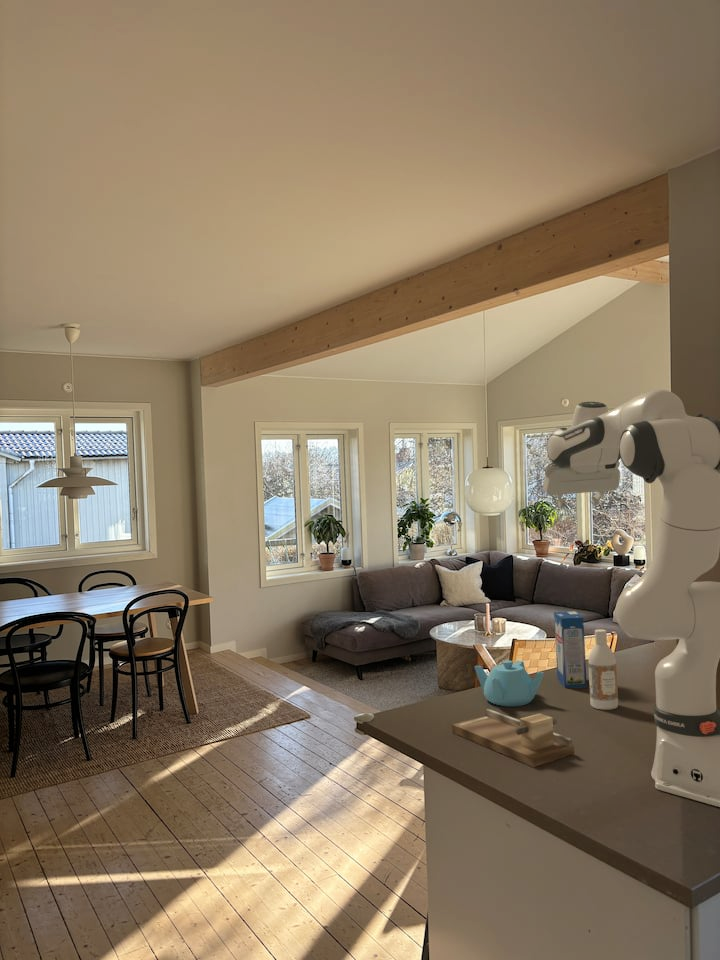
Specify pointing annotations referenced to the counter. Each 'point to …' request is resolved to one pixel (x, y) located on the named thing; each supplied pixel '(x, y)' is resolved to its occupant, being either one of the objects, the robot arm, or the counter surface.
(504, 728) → the walnut board
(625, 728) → the counter surface
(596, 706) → the bath foam
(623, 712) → the counter surface
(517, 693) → the teapot
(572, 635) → the milk carton
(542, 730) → the wooden block with pegs
